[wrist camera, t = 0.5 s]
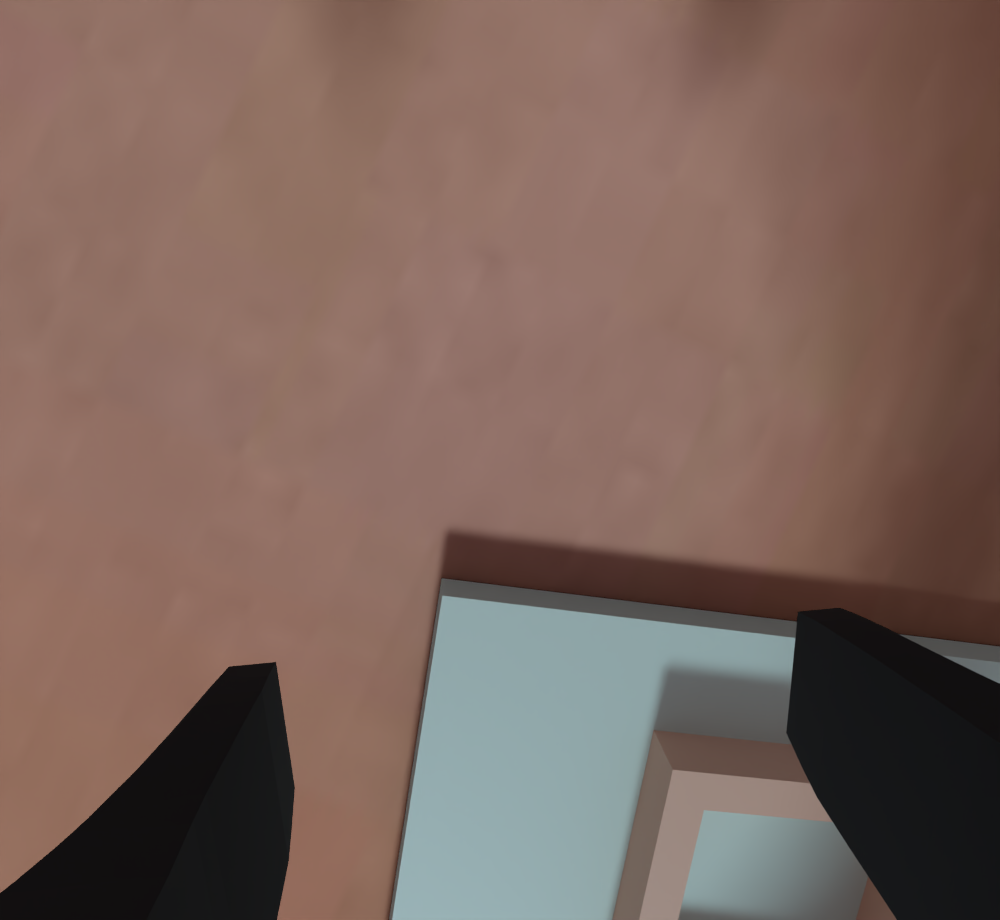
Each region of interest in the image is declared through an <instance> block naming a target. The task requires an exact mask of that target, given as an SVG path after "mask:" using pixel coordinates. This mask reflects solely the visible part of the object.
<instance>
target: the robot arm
mask: <svg viewBox="0 0 1000 920" xmlns="http://www.w3.org/2000/svg"><path fill="white" fill-rule="evenodd" d="M786 734H787V736H788V738H789V740H790V742H791V744H792V747H793V749H794V751H795V753H796V755H797V758H798V760H799V762H800V764H801V766H802V768H803V770H804V772H805V774H806V776H807V778H808V780H809V782H810V784H811V786H812V788H813V790H814V792H815V794H816V796H817V798H818V800H819V801H820V803H821V805H822V806H823V808H824V809H825V811H826V813H827V814H828V816H829V817H830V819H831V820H832V822H833V823H834V825H835V826H836V828H837V830H838V831H839V833H840V834H841V836H842V837H843V839H844V840H845V842H846V843H847V845H848V847H849V848H850V850H851V851H852V853H853V854H854V856H855V857H856V859H857V860H858V862H859V863H860V865H861V866H862V868H863V869H864V871H865V872H866V874H867V875H868V877H869V878H870V880H871V881H872V883H873V884H874V886H875V887H876V889H877V890H878V892H879V894H880V895H881V897H882V898H883V900H884V901H885V903H886V904H887V906H888V907H889V909H890V910H891V912H892V913H893V915H894V916H895V918H896V919H897V920H1000V683H997V682H995V681H993V680H991V679H989V678H987V677H985V676H983V675H981V674H978V673H976V672H974V671H972V670H970V669H968V668H966V667H964V666H962V665H960V664H958V663H956V662H954V661H952V660H950V659H948V658H946V657H944V656H942V655H940V654H938V653H936V652H933V651H931V650H929V649H927V648H925V647H923V646H921V645H919V644H917V643H915V642H913V641H911V640H909V639H907V638H905V637H903V636H901V635H899V634H897V633H895V632H893V631H891V630H889V629H887V628H885V627H883V626H881V625H879V624H876V623H874V622H872V621H870V620H868V619H866V618H863V617H861V616H859V615H857V614H854V613H852V612H849V611H847V610H844V609H841V608H832V609H822V610H812V611H801V612H798V616H797V627H796V637H795V647H794V658H793V668H792V678H791V689H790V699H789V709H788V720H787V730H786ZM294 789H295V787H294V780H293V773H292V767H291V760H290V753H289V747H288V740H287V733H286V726H285V720H284V713H283V706H282V700H281V693H280V686H279V680H278V673H277V666H276V662H273V663H263V664H252V665H242V666H232V667H228V668H227V669H226V671H225V672H224V673H223V674H222V675H221V676H220V677H219V678H218V679H217V680H216V682H215V683H214V684H213V685H212V686H211V687H210V688H209V689H208V691H207V692H206V693H205V694H204V695H203V696H202V697H201V699H200V700H199V701H198V702H197V703H196V704H195V706H194V707H193V708H192V709H191V710H190V711H189V713H188V714H187V715H186V716H185V717H184V718H183V719H182V721H181V722H180V723H179V724H178V725H177V726H176V727H175V729H174V730H173V731H172V732H171V733H170V734H169V735H168V736H167V737H166V739H165V740H164V741H163V742H162V743H161V744H160V745H159V746H158V747H157V748H156V749H155V751H154V752H153V753H152V754H151V755H150V756H149V757H148V758H147V759H146V760H145V761H144V763H143V764H142V765H141V766H140V767H139V768H138V769H137V770H136V771H135V772H134V773H133V774H132V775H131V776H130V777H129V778H128V779H127V780H126V781H125V782H124V783H123V784H122V785H121V786H120V787H119V788H118V789H117V790H116V791H115V792H114V793H113V794H112V795H111V796H110V797H109V798H108V799H107V800H106V801H105V802H104V803H103V804H102V805H101V806H100V807H99V808H98V809H97V810H96V811H95V812H94V813H93V814H92V815H91V816H90V817H89V818H88V819H87V820H86V821H85V822H84V823H82V824H81V825H80V826H79V827H78V828H77V829H76V830H75V831H74V832H73V833H72V834H70V835H69V836H68V837H67V838H66V839H65V840H64V841H62V842H61V843H60V844H59V845H58V846H57V847H56V848H55V849H53V850H52V851H51V852H50V853H49V854H47V855H46V856H45V857H44V858H43V859H41V860H40V861H39V862H38V863H37V864H35V865H34V866H33V867H32V868H31V869H29V870H28V871H27V872H26V873H25V874H23V875H22V876H21V877H20V878H19V879H17V880H16V881H15V882H14V883H13V884H11V885H10V886H9V887H7V888H6V889H5V890H4V891H2V892H1V893H0V920H277V916H278V911H279V906H280V901H281V896H282V891H283V886H284V881H285V876H286V871H287V866H288V861H289V851H290V840H291V829H292V816H293V802H294Z"/></svg>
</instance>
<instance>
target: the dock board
mask: <svg viewBox="0 0 1000 920" xmlns="http://www.w3.org/2000/svg"><path fill="white" fill-rule="evenodd" d="M796 627H797V622H795V621H787V620H779V619H771V618H762V617H754V616H746V615H738V614H730V613H722V612H713V611H705V610H697V609H689V608H681V607H673V606H664V605H656V604H648V603H640V602H632V601H623V600H615V599H607V598H599V597H591V596H583V595H574V594H566V593H558V592H550V591H542V590H534V589H525V588H517V587H509V586H501V585H493V584H484V583H476V582H468V581H460V580H452V579H444V578H442V579H441V585H440V592H439V598H438V605H437V611H436V618H435V624H434V631H433V637H432V644H431V650H430V657H429V663H428V670H427V676H426V683H425V689H424V696H423V702H422V709H421V715H420V722H419V728H418V735H417V741H416V748H415V754H414V761H413V767H412V774H411V780H410V787H409V793H408V800H407V806H406V812H405V819H404V825H403V832H402V838H401V845H400V851H399V858H398V864H397V871H396V877H395V884H394V890H393V897H392V903H391V910H390V916H389V920H897V919H896V918H895V916H894V915H893V913H892V912H891V910H890V909H889V907H888V906H887V904H886V903H885V901H884V900H883V898H882V897H881V895H880V894H879V892H878V890H877V889H876V887H875V886H874V884H873V883H872V881H871V880H870V878H869V877H868V875H867V874H866V872H865V871H864V869H863V868H862V866H861V865H860V863H859V862H858V860H857V859H856V857H855V856H854V854H853V853H852V851H851V850H850V848H849V847H848V845H847V843H846V842H845V840H844V839H843V837H842V836H841V834H840V833H839V831H838V830H837V828H836V826H835V825H834V823H833V822H832V820H831V819H830V817H829V816H828V814H827V813H826V811H825V809H824V808H823V806H822V805H821V803H820V801H819V800H818V798H817V796H816V794H815V792H814V790H813V788H812V786H811V784H810V782H809V780H808V778H807V776H806V774H805V772H804V770H803V768H802V766H801V764H800V762H799V760H798V758H797V755H796V753H795V751H794V749H793V747H792V744H791V742H790V740H789V738H788V736H787V734H786V730H787V720H788V709H789V699H790V689H791V678H792V668H793V658H794V647H795V637H796ZM899 635H901V634H899ZM901 636H903V637H905V638H907V639H909V640H911V641H913V642H915V643H917V644H919V645H921V646H923V647H925V648H927V649H929V650H931V651H933V652H936V653H938V654H940V655H942V656H944V657H946V658H948V659H950V660H952V661H954V662H956V663H958V664H960V665H962V666H964V667H966V668H968V669H970V670H972V671H974V672H976V673H978V674H981V675H983V676H985V677H987V678H989V679H991V680H993V681H995V682H997V683H1000V646H991V645H983V644H975V643H967V642H959V641H951V640H942V639H934V638H926V637H918V636H910V635H901Z"/></svg>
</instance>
